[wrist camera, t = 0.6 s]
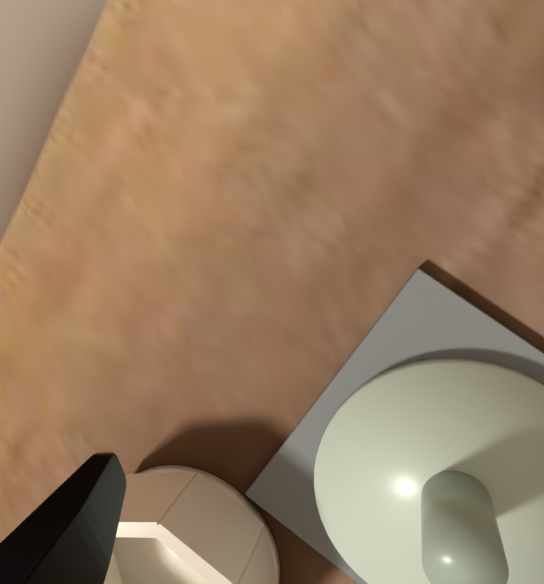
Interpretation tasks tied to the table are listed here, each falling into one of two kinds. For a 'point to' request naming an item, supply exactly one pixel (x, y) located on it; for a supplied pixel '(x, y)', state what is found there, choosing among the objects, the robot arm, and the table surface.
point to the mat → (369, 363)
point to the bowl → (190, 532)
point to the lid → (437, 475)
